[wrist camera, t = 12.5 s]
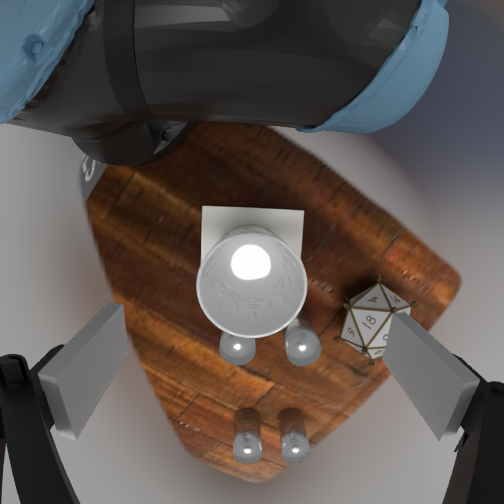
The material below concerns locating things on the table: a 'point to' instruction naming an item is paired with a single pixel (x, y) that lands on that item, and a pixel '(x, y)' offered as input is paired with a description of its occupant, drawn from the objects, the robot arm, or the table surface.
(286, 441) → the spacer posts
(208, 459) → the table surface
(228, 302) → the white cup
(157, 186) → the table surface
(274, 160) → the table surface
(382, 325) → the game die
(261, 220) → the coaster
